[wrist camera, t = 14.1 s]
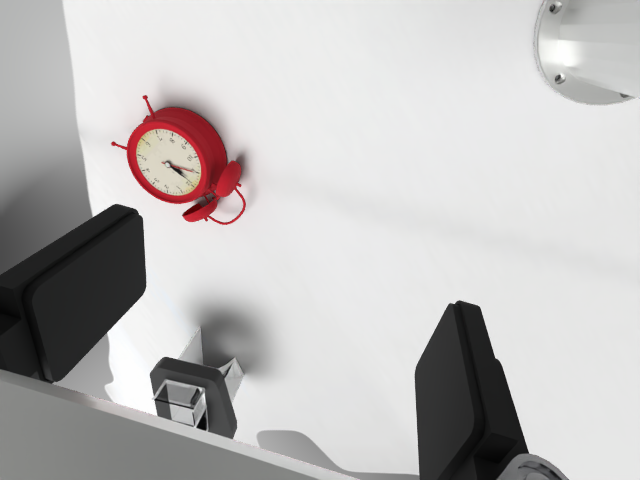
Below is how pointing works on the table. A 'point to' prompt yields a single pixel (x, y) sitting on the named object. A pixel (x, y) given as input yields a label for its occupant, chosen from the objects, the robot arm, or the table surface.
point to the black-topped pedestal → (197, 390)
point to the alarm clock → (182, 161)
